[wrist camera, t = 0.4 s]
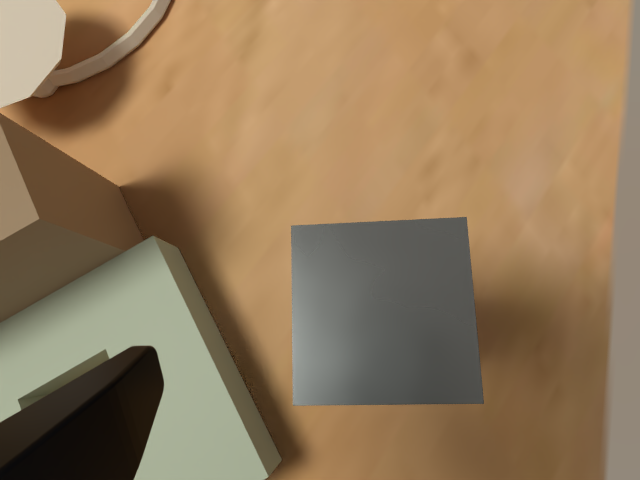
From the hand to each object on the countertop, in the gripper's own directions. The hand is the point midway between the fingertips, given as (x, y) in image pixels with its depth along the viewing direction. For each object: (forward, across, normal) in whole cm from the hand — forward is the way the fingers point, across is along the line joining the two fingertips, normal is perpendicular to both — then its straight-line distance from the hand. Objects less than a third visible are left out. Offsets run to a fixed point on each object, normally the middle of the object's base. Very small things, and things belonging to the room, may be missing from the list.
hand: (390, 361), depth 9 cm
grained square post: (+13, 0, +8) cm, 15 cm away
